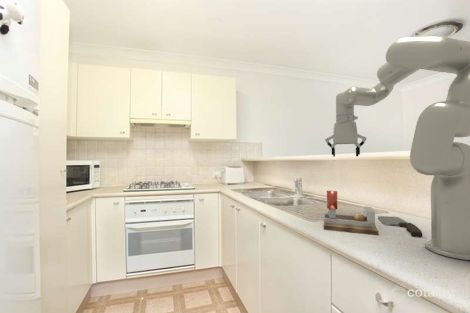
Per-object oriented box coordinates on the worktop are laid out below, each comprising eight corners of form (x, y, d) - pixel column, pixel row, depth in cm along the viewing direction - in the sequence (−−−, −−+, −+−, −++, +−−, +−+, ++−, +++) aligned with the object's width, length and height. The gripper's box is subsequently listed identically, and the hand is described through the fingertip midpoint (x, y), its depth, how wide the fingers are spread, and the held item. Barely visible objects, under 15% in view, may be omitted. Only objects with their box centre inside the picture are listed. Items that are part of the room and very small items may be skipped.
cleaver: (431, 239, 77) (430, 232, 77) (397, 236, 80) (397, 230, 80) (397, 219, 105) (397, 214, 105) (373, 217, 108) (373, 213, 108)
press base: (371, 223, 95) (371, 220, 95) (378, 235, 80) (378, 230, 81) (324, 219, 102) (324, 216, 102) (323, 229, 87) (323, 225, 87)
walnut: (354, 222, 92) (365, 222, 91) (355, 225, 89) (366, 224, 87) (352, 212, 93) (363, 212, 91) (353, 214, 89) (364, 214, 87)
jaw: (337, 218, 96) (337, 190, 96) (337, 223, 90) (337, 192, 90) (327, 218, 98) (326, 189, 98) (326, 222, 91) (326, 192, 91)
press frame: (370, 221, 93) (370, 206, 93) (375, 228, 83) (375, 212, 84) (324, 217, 100) (324, 203, 100) (324, 223, 90) (323, 208, 90)
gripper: (365, 119, 106) (365, 156, 106) (325, 122, 113) (325, 156, 113) (367, 116, 99) (368, 156, 99) (324, 119, 106) (325, 156, 106)
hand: (345, 156), depth 106 cm, fingers open, 9 cm apart
